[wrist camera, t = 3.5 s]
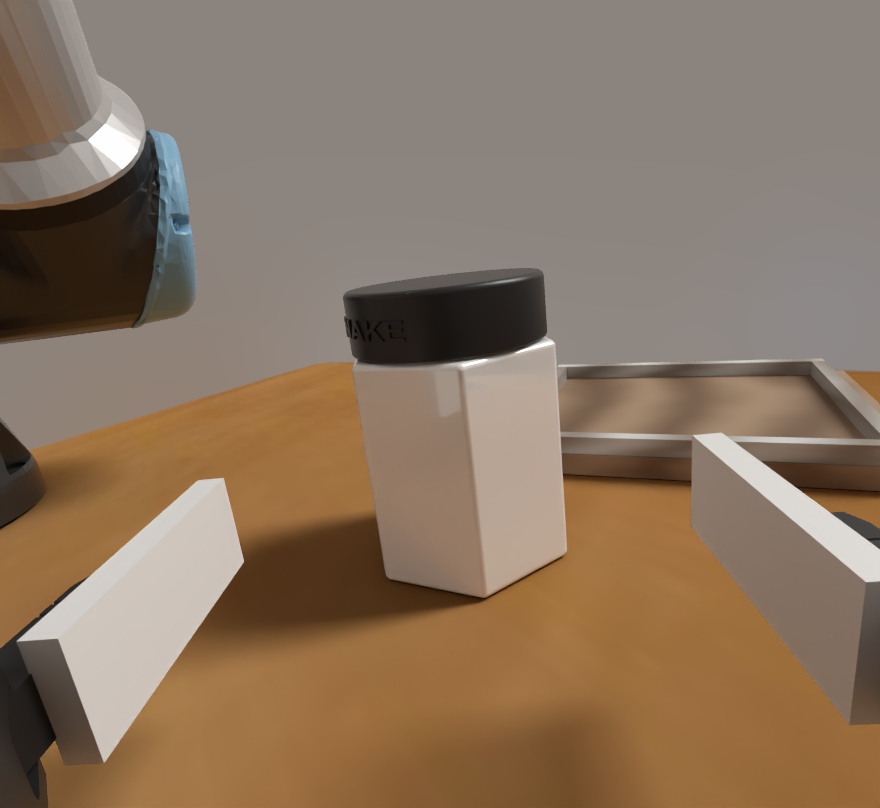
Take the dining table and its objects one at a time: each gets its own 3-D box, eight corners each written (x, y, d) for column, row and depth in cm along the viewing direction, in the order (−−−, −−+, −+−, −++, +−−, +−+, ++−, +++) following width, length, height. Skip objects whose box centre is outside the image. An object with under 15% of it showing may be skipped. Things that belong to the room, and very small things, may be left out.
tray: (483, 469, 33) (480, 435, 33) (545, 388, 49) (543, 364, 48) (948, 494, 24) (955, 449, 24) (841, 386, 40) (844, 357, 40)
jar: (386, 509, 30) (350, 285, 26) (534, 489, 30) (517, 265, 26) (379, 616, 21) (325, 302, 18) (587, 586, 21) (573, 272, 18)
